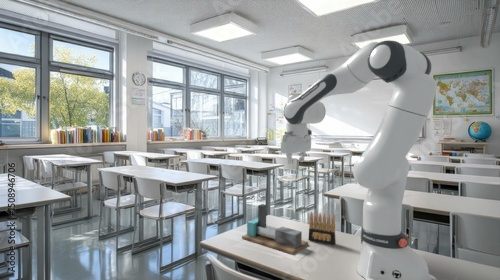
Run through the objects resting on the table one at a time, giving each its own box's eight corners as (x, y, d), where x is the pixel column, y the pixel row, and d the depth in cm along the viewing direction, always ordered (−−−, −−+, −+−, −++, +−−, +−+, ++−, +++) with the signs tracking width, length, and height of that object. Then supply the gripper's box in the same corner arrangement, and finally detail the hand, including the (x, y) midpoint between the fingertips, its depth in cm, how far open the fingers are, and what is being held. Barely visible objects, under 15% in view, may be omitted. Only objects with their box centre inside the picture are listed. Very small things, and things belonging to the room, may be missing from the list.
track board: (308, 244, 117) (308, 229, 116) (292, 254, 107) (292, 238, 107) (259, 230, 132) (259, 217, 132) (241, 238, 123) (241, 224, 123)
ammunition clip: (335, 243, 118) (336, 214, 117) (334, 245, 116) (335, 215, 116) (309, 239, 123) (309, 210, 122) (308, 240, 121) (308, 211, 120)
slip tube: (283, 238, 119) (283, 208, 118) (279, 240, 116) (279, 210, 116) (256, 230, 128) (256, 202, 127) (251, 232, 125) (251, 204, 125)
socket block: (264, 232, 128) (264, 219, 127) (253, 237, 122) (253, 223, 122) (257, 230, 130) (257, 217, 130) (247, 235, 124) (247, 221, 124)
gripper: (290, 131, 119) (289, 165, 119) (313, 131, 135) (313, 161, 135) (277, 131, 123) (277, 164, 123) (301, 131, 139) (301, 160, 139)
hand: (296, 162), depth 129 cm, fingers open, 8 cm apart
